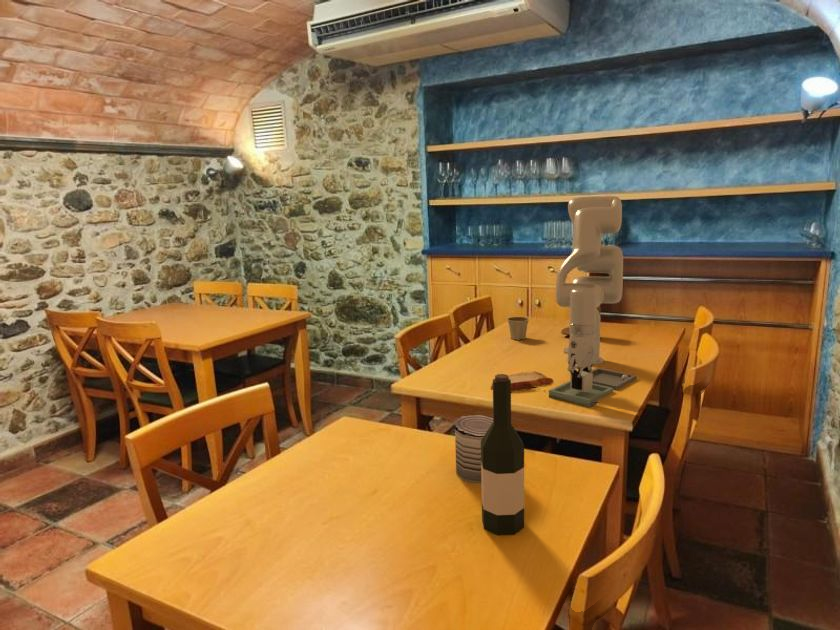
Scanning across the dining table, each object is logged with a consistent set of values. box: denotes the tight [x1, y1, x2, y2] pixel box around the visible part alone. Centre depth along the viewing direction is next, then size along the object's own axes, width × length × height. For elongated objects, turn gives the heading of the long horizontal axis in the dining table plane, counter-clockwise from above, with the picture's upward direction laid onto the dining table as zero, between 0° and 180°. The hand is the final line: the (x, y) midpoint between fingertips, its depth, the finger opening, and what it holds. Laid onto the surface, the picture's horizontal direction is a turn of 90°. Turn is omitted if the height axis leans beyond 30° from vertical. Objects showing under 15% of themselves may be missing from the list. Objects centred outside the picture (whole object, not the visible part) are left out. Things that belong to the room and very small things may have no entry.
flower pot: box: [506, 316, 530, 341], centre depth 254 cm, size 9×9×9 cm
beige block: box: [569, 369, 593, 392], centre depth 182 cm, size 5×4×5 cm
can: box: [452, 414, 493, 485], centre depth 135 cm, size 11×11×12 cm
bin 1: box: [548, 380, 614, 408], centre depth 183 cm, size 14×14×2 cm
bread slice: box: [490, 371, 554, 392], centre depth 194 cm, size 18×18×4 cm
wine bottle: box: [480, 373, 525, 536], centre depth 112 cm, size 8×8×30 cm
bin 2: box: [591, 367, 638, 391], centre depth 194 cm, size 14×14×3 cm
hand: (581, 386), depth 182 cm, fingers closed on beige block, 4 cm apart
